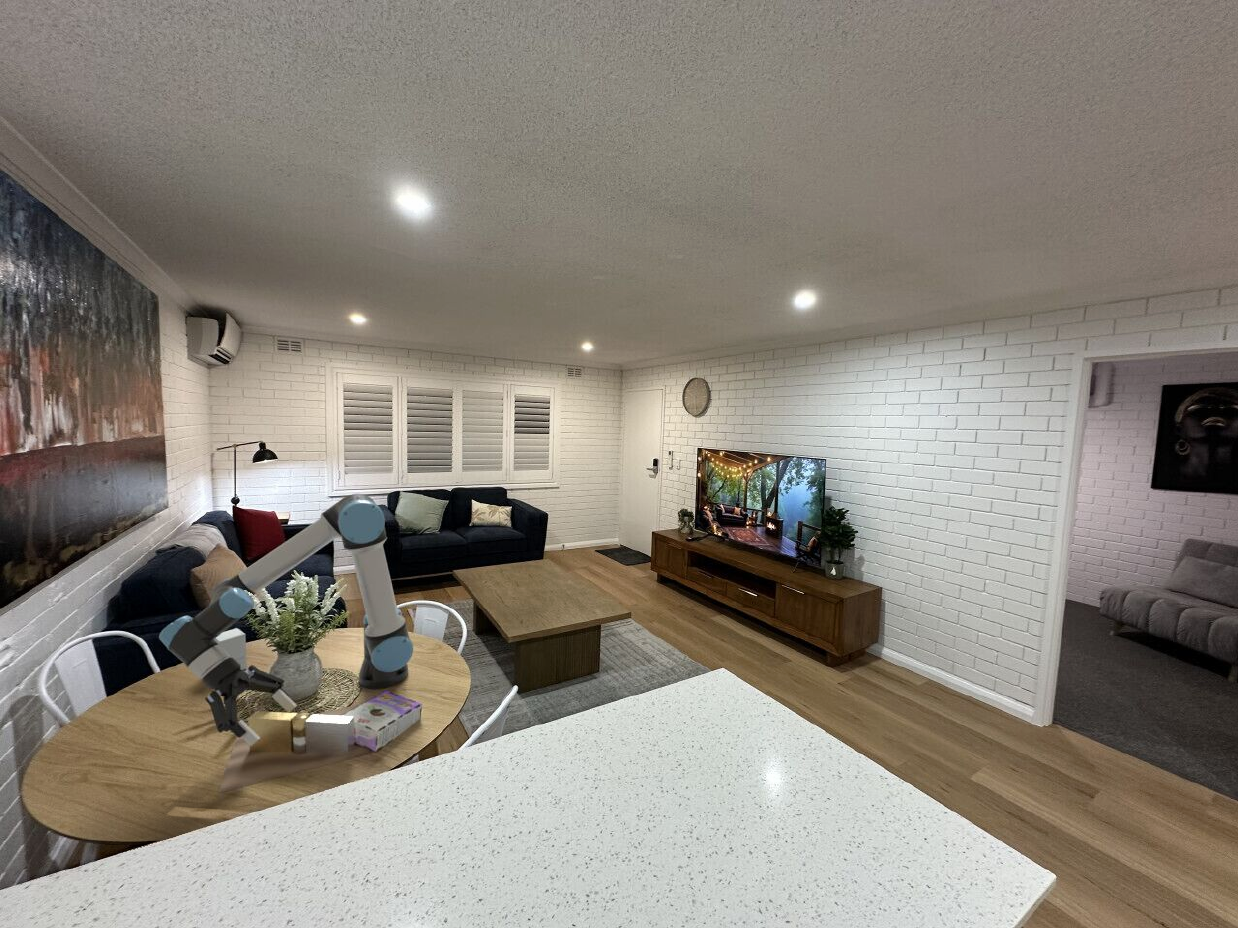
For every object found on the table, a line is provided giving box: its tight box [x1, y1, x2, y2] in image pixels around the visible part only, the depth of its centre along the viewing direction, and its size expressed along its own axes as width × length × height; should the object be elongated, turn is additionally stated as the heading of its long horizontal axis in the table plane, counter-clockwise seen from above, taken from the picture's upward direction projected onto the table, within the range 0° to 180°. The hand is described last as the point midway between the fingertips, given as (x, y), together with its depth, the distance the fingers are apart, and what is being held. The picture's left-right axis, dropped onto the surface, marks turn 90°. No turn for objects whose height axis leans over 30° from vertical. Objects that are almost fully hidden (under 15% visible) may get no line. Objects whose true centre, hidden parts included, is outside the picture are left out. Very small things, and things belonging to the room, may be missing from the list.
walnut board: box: [217, 703, 373, 794], centre depth 134 cm, size 25×32×1 cm
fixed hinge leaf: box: [293, 713, 355, 756], centre depth 131 cm, size 4×15×9 cm, turn 88°
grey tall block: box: [214, 627, 248, 671], centre depth 170 cm, size 7×7×13 cm
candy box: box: [342, 690, 423, 752], centre depth 141 cm, size 14×6×16 cm
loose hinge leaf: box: [247, 710, 311, 753], centre depth 131 cm, size 4×15×9 cm, turn 89°
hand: (275, 724), depth 130 cm, fingers open, 13 cm apart
